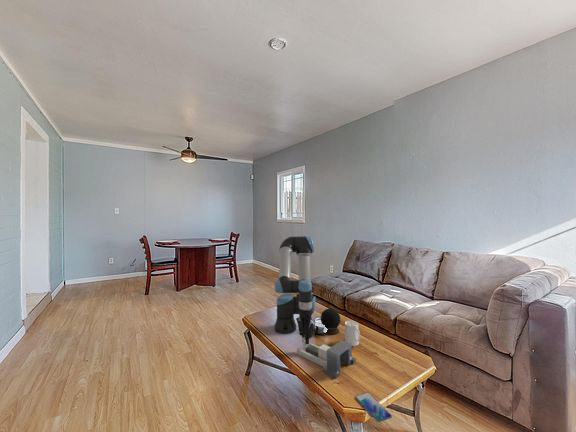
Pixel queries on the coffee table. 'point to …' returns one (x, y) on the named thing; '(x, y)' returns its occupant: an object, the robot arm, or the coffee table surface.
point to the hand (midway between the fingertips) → (305, 348)
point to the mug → (352, 333)
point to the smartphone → (373, 407)
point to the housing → (338, 358)
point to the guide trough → (312, 357)
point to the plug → (318, 351)
